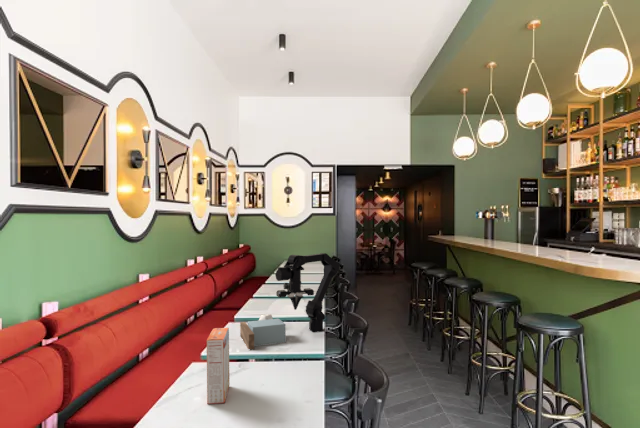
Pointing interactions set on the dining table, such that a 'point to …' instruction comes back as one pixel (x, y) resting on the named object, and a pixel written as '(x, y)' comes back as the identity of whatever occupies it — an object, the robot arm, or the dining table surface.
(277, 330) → the slate block
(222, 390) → the cracker box
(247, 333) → the walnut board
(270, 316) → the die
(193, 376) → the dining table surface
